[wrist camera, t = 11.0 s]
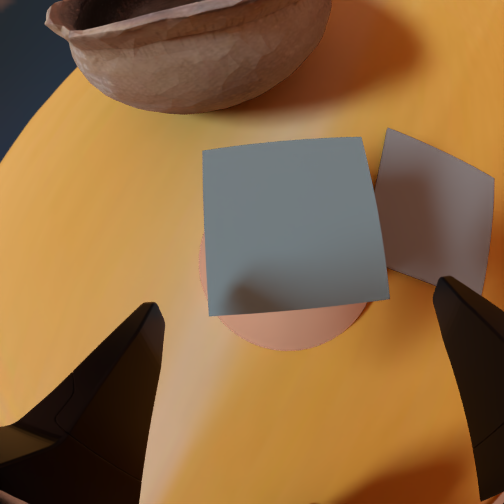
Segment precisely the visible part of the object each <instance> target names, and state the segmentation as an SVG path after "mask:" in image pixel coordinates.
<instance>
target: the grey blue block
mask: <svg viewBox="0 0 504 504" xmlns="http://www.w3.org/2000/svg"><path fill="white" fill-rule="evenodd" d="M203 202H204V232H205V255H206V275H207V292H208V308H209V316H224V315H240V314H254V313H268V312H280V311H291V310H302V309H312V308H321V307H331V306H339V305H348V304H356V303H364V302H372V301H379V300H386V299H390V295H389V285H388V276H387V268H386V260H385V253H384V246H383V239H382V233H381V227H380V221H379V215H378V210H377V204H376V199H375V194H374V189H373V184H372V180H371V175H370V171H369V166H368V162H367V158H366V154H365V150H364V146H363V142H362V138H361V137H340V138H319V139H303V140H290V141H278V142H268V143H258V144H249V145H241V146H233V147H225V148H218V149H211V150H205V151H203Z"/></svg>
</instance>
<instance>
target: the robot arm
mask: <svg viewBox="0 0 504 504" xmlns="http://www.w3.org/2000/svg"><path fill="white" fill-rule="evenodd" d="M433 304H434V307H435V311H436V314H437V318H438V322H439V326H440V330H441V334H442V338H443V341H444V344H445V347H446V350H447V353H448V356H449V359H450V362H451V365H452V369H453V372H454V375H455V378H456V382H457V385H458V389H459V392H460V396H461V399H462V403H463V407H464V411H465V415H466V419H467V423H468V428H469V432H470V437H471V442H472V447H473V453H474V459H475V465H476V471H477V478H478V485H479V494H480V500H481V501H484V500H486V499H488V498H491V497H493V496H495V495H497V494H499V493H502V492H504V311H502V310H501V309H499V308H498V307H497V306H495V305H494V304H492V303H491V302H490V301H488V300H487V299H485V298H484V297H482V296H481V295H479V294H478V293H476V292H475V291H474V290H472V289H471V288H469V287H468V286H466V285H465V284H463V283H462V282H460V281H459V280H457V279H455V278H454V277H452V276H450V275H448V276H442V277H440V278H439V279H438V282H437V285H436V288H435V291H434V294H433ZM164 331H165V322H164V318H163V316H162V314H161V312H160V309H159V307H158V305H157V304H156V303H155V302H145V303H143V304H141V305H140V306H139V307H138V308H137V309H136V310H135V311H134V312H133V313H132V314H131V315H130V316H129V317H128V318H127V319H126V320H125V321H123V322H122V323H121V324H120V325H119V326H118V327H117V328H116V329H115V330H114V331H113V332H112V333H111V334H110V335H109V336H108V337H107V338H106V339H105V340H104V341H103V342H102V343H101V344H100V345H99V346H98V347H97V348H96V349H95V350H94V351H93V352H92V353H91V354H90V355H89V356H88V357H87V358H86V359H85V360H84V361H83V362H82V363H81V364H80V365H79V366H78V367H77V368H76V369H75V370H74V371H73V372H72V373H70V375H69V376H68V377H67V378H66V379H65V380H64V381H63V382H61V383H60V384H59V385H58V386H57V387H56V388H55V389H54V390H53V391H52V392H51V393H50V394H49V395H48V396H46V397H45V398H44V399H43V400H42V401H41V402H40V403H38V404H37V405H36V406H35V407H34V408H33V409H32V410H30V411H29V412H28V413H27V414H26V415H25V416H24V417H22V418H21V419H20V420H19V421H17V422H15V423H13V424H11V425H8V426H3V427H0V504H139V499H140V491H141V483H142V482H141V481H142V475H143V468H144V461H145V454H146V448H147V441H148V435H149V429H150V423H151V418H152V412H153V407H154V401H155V396H156V391H157V386H158V380H159V375H160V370H161V362H162V351H163V341H164ZM503 504H504V503H503Z"/></svg>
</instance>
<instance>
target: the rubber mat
mask: <svg viewBox="0 0 504 504" xmlns="http://www.w3.org/2000/svg"><path fill="white" fill-rule="evenodd" d="M374 194H375V199H376V204H377V210H378V215H379V221H380V227H381V233H382V239H383V246H384V253H385V260H386V267H387V268H389V269H392V270H395V271H398V272H400V273H403V274H406V275H409V276H411V277H414V278H417V279H419V280H422V281H425V282H427V283H430V284H433V285H435V286H436V285H437V282H438V279H439V278H440V277H442V276H448V275H450V276H452V277H454V278H455V279H457V280H459V281H460V282H462V283H463V284H465V285H466V286H468V287H469V288H471V289H472V290H474V291H475V292H476V293H478V294H479V295H482V290H483V285H484V280H485V274H486V268H487V262H488V255H489V248H490V239H491V230H492V219H493V203H494V178H493V177H491V176H489V175H487V174H486V173H484V172H482V171H480V170H478V169H477V168H475V167H473V166H471V165H469V164H467V163H465V162H463V161H461V160H459V159H457V158H455V157H453V156H451V155H449V154H447V153H445V152H443V151H441V150H439V149H437V148H435V147H432V146H430V145H428V144H426V143H424V142H421V141H419V140H417V139H414V138H412V137H410V136H407V135H405V134H402V133H400V132H397V131H395V130H392V129H390V128H388V129H387V131H386V137H385V142H384V147H383V152H382V157H381V162H380V167H379V171H378V176H377V180H376V185H375V189H374Z"/></svg>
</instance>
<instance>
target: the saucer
mask: <svg viewBox="0 0 504 504" xmlns="http://www.w3.org/2000/svg"><path fill="white" fill-rule="evenodd" d="M199 272H200V280H201V283H202V287H203V291H204V293H205V296H206V298H207V300H208V292H207V275H206V255H205V232H204V234H203V238H202V241H201V245H200V252H199ZM366 304H367V302H364V303H356V304H348V305H339V306H331V307H321V308H312V309H302V310H291V311H280V312H268V313H254V314H240V315H224V316H218V318H219V319H220V320H221V321H222V322H223V323H224V324H225V325H226V326H227V327H228V328H229V329H230V330H231V331H232V332H234V333H235V334H237V335H238V336H239V337H241V338H243V339H245V340H246V341H248V342H250V343H253V344H255V345H258V346H260V347H264V348H268V349H272V350H281V351H295V350H303V349H308V348H312V347H315V346H318V345H321V344H323V343H325V342H328V341H330V340H332V339H333V338H335V337H336V336H338V335H339V334H341V333H342V332H344V331H345V330H346V329H347V328H348V327H349V326H350V325H351V324H352V323H353V322H354V321H355V320H356V319H357V318H358V316H359V315H360V314H361V312H362V311H363V309H364V308H365V306H366Z"/></svg>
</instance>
